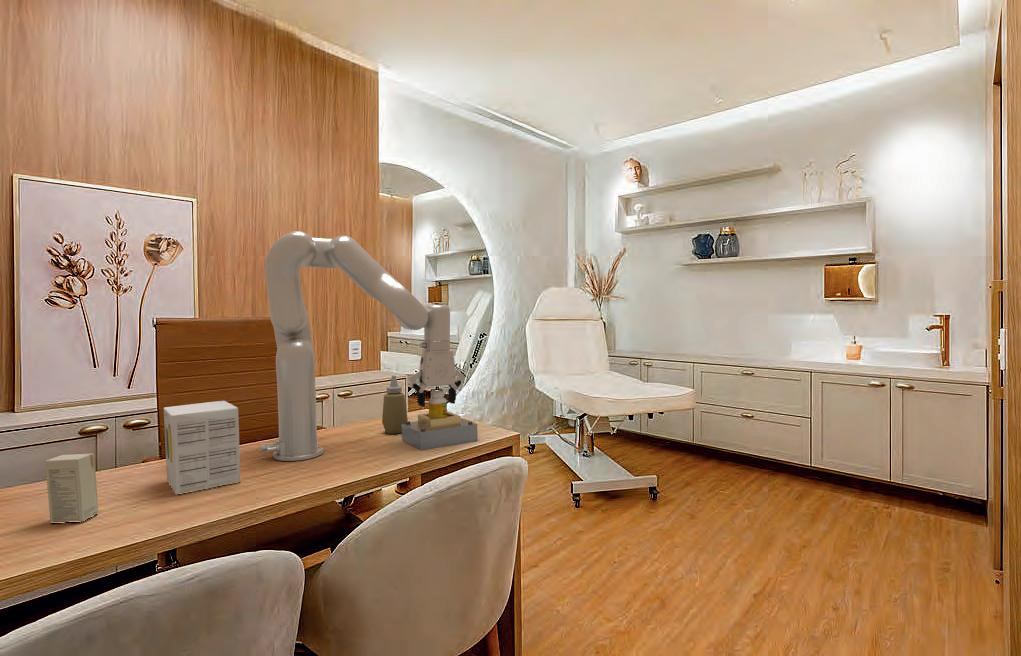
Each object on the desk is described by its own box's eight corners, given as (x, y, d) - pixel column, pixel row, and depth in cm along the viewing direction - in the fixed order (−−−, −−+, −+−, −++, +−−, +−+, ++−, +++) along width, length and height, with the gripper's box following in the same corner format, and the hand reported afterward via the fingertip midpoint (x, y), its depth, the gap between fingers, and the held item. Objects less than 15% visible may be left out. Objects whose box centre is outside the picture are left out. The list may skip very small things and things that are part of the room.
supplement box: (165, 481, 124) (162, 406, 124) (228, 469, 133) (225, 399, 132) (174, 496, 114) (171, 415, 113) (242, 483, 123) (239, 407, 122)
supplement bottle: (431, 421, 161) (430, 390, 161) (449, 421, 161) (448, 390, 160) (427, 425, 156) (426, 393, 156) (445, 425, 155) (444, 393, 155)
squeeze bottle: (379, 430, 172) (378, 375, 171) (404, 428, 176) (403, 373, 175) (385, 436, 165) (383, 378, 164) (410, 433, 168) (409, 376, 168)
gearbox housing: (420, 450, 148) (420, 423, 148) (401, 440, 160) (401, 415, 160) (477, 440, 158) (477, 415, 158) (456, 431, 170) (455, 408, 169)
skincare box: (99, 514, 105) (96, 452, 104) (82, 523, 100) (79, 459, 100) (66, 515, 104) (62, 453, 104) (47, 524, 100) (44, 459, 100)
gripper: (414, 348, 150) (414, 409, 150) (469, 346, 159) (468, 403, 160) (404, 346, 156) (404, 405, 157) (457, 345, 165) (457, 400, 166)
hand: (436, 404), depth 158 cm, fingers open, 9 cm apart
